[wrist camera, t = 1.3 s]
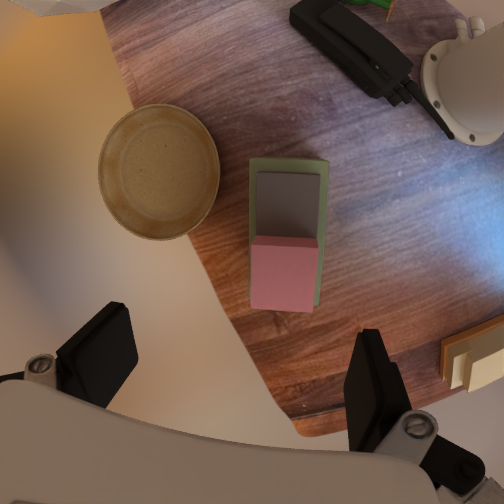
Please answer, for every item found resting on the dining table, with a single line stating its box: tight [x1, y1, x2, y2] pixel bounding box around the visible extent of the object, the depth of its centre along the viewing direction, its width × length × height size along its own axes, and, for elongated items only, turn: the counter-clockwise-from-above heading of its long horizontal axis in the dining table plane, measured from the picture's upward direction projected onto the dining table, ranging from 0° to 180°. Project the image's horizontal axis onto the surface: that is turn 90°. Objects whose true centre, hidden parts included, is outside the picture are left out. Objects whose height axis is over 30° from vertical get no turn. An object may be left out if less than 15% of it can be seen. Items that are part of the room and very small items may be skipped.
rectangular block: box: [249, 156, 329, 306], centre depth 27 cm, size 12×6×8 cm, turn 0°
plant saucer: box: [98, 103, 220, 241], centre depth 30 cm, size 15×15×3 cm
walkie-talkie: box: [289, 0, 455, 140], centre depth 22 cm, size 6×6×20 cm
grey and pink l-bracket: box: [251, 171, 321, 312], centre depth 22 cm, size 10×5×3 cm, turn 0°
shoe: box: [440, 314, 504, 393], centre depth 29 cm, size 15×7×6 cm, turn 110°
